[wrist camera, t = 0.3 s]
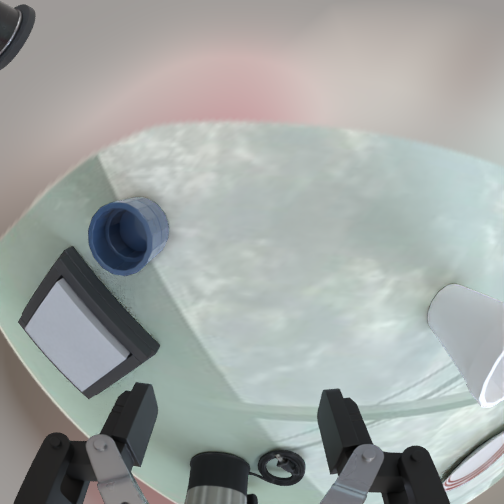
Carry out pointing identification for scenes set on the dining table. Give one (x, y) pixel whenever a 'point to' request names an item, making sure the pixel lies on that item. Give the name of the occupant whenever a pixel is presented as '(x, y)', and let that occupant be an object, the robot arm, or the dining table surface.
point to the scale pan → (74, 337)
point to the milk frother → (236, 476)
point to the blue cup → (127, 234)
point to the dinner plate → (476, 462)
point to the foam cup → (472, 338)
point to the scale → (102, 308)
